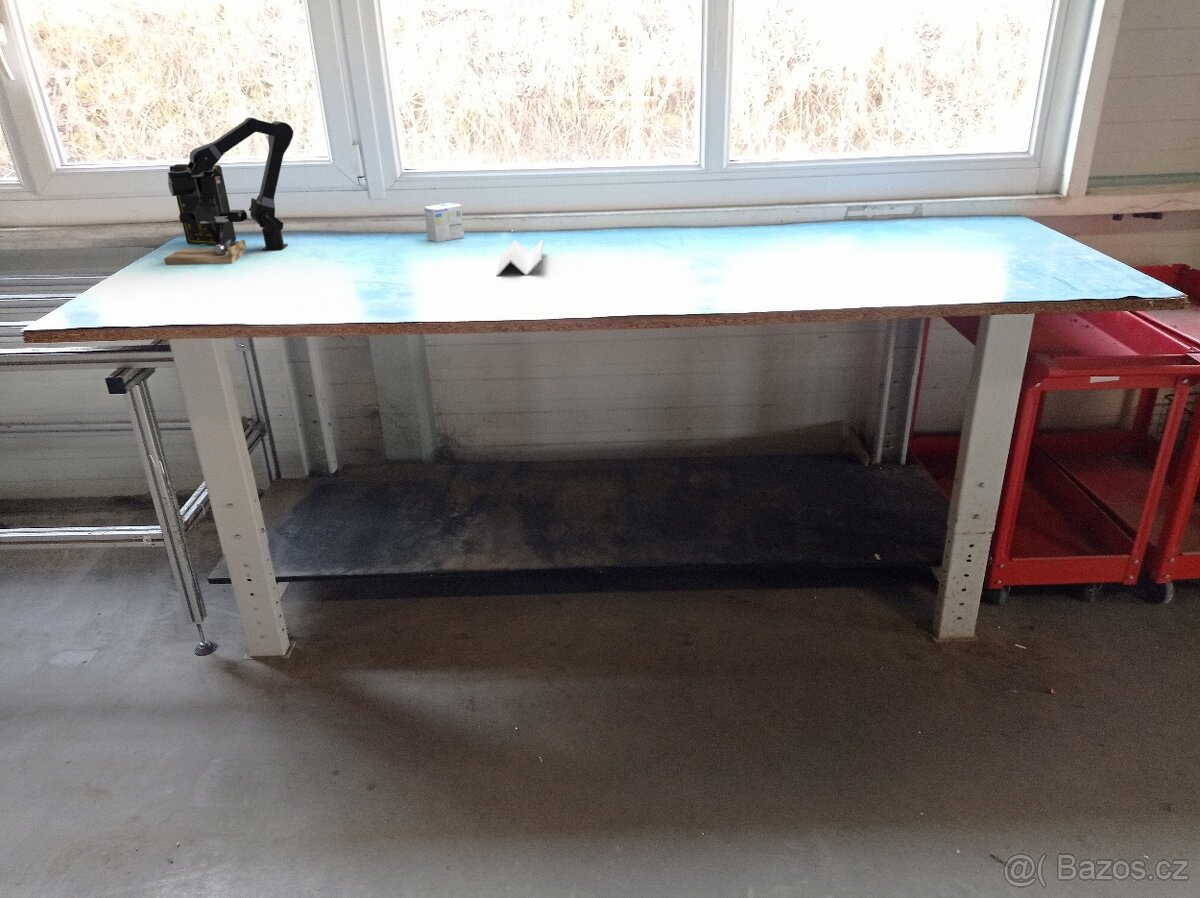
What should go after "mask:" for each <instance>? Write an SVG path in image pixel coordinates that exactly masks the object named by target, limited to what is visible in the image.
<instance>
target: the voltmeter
mask: <svg viewBox="0 0 1200 898" xmlns="http://www.w3.org/2000/svg"><path fill="white" fill-rule="evenodd" d="M188 164H189V163H187V164H186V163H185V164H184V163H183V164H182V163H178V164H174V165H170V166H169V172H183V171H185V169H186V167H187V166H188ZM213 168H216V169H217V171H218V172H220V173H221V174H222V175H223V174H224V173H223V169H222V166H221V165H219V164H215V165H214V166H213V167H212V168H211V169H209V170H203V171H211V170H212V169H213ZM203 171H202V172H203ZM199 175H201V173H200V174H199ZM192 176H195V175H192ZM224 179H225V178H224V175H223V176H219V177H216V181H217V186H218V191H219V194H221V198H220V201H221V207H222V208H223V209H224V212H223V213H228V212H229V211H231V208H230V207H231V206H230V204H229V203H230V202H229V197H228V194H227V190H226V184H225V180H224ZM194 181H195V185H196V180H195V179H194ZM175 197H176V200H177V201H176V202H177V206H178V211H179V214H180V213H182V212H184V211H186V210H194V209H195V208H196V206H197V205H198V197H199V194H198V189H197V185H196V190H195V191H194V192H193V194H190V195H180V196H175ZM213 220H215V219H213ZM199 223H200V222H197V221H196V219H192V221H191V222H190V223H181V224H182V228H183V232H184V236H185V239H186V243H187V244H189V245H200V244H206V245H205V246H214V245H217V243H216V242H215V240H214V238H213V237H212V235H211V233H210V232H209V231H208V229H207V228H206V227H204V226H203V225H200V224H199ZM223 239H230V240H231V242H233V241H237V237H236V232H235V227H234V222H230V221H229V222H228V223H226V225H225V228H224V231H223V236H222V240H223Z"/></svg>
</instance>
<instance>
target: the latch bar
mask: <svg viewBox="0 0 1200 898" xmlns="http://www.w3.org/2000/svg"><path fill="white" fill-rule="evenodd" d="M230 243H231V240H230V239H223V240H222V241H220V242H219V243H218V244H217V245H212V248H213V249H214V254H215V255H224V254H226V252H227V251H228V250H227V249H228V248H230Z"/></svg>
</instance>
